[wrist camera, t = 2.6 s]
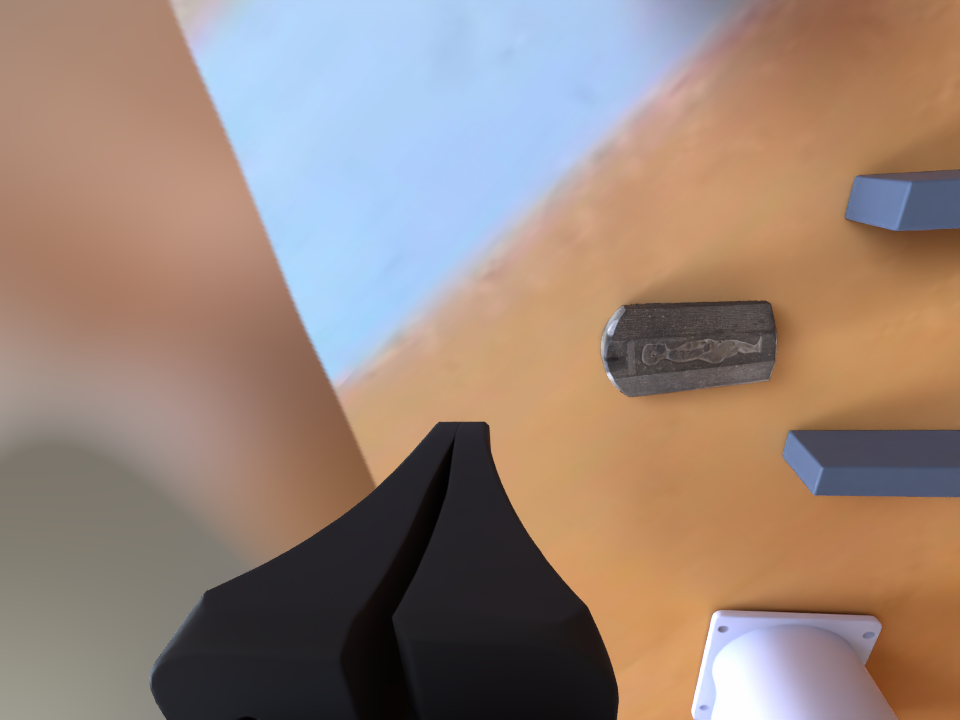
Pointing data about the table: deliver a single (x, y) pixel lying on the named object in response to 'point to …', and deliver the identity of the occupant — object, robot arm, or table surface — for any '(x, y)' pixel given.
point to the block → (689, 346)
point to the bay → (887, 453)
